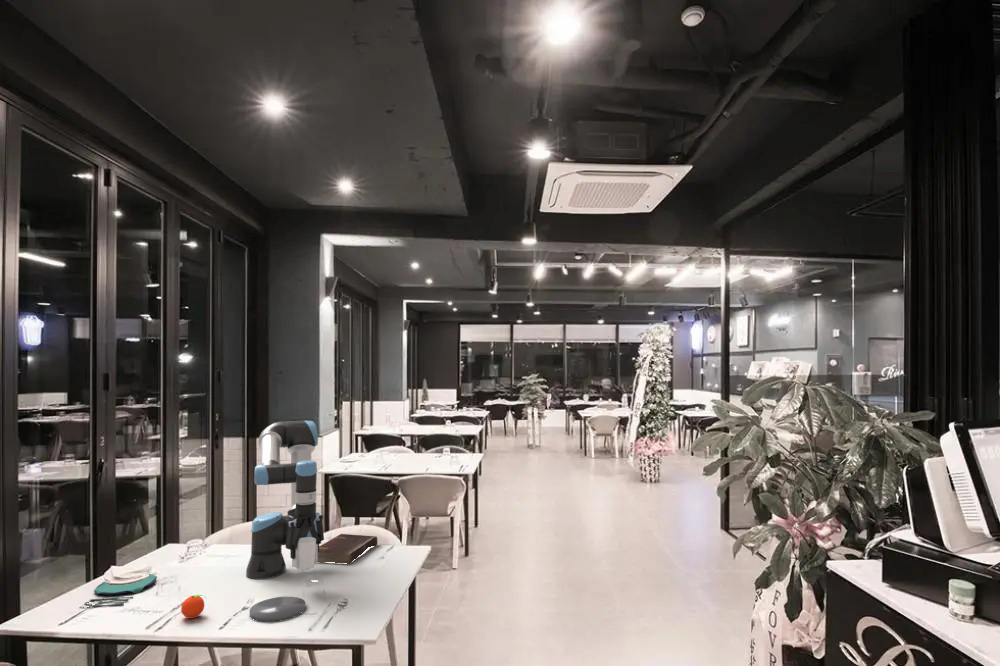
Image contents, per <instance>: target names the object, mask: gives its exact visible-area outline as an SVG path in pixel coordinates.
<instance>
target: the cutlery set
mask: <svg viewBox="0 0 1000 666" xmlns="http://www.w3.org/2000/svg"><path fill="white" fill-rule="evenodd" d="M148 574H149V577H148V578H146V579H145V580H142V581H140V582H137V583H132V584H125V585H109V584H107V583H106V581H104V582H102V583H100V584H99V585H97V586H96V587H95V588H94V590H93V592H94V593H95V594H96V595H97V596H100V595H107V596H108V595H109V596H111V595H121V594H122V595H123V594H127V593H134V594H135V593H136V594H139V593H140V592H141V591H142V590H143V589H144V588H147V587H149V586H151V585H153V584H154V583H155V582H156V581H157V578H158V576H157V575H156V574H152V573H148ZM103 599H104V600H103ZM130 599H134V595H133V596H128V597H127V596H126V597H125V596H121V597H120V596H112V597H102V598H101V597H100V598H99V597H98V598H91V599H90V600H95V601H101V602H99V603H100V604H97V603H98V602H95V603H94V602H93V601H90V600H89V601H85V602H84V605H85V606H89V607H87V608H86V609H91V608H90V607H94V606H109V607H118V606H121V607H122V606H124V605H125V602H128V601H129V600H130ZM89 602H93V603H94V604H95V605H93V606H91V605H92V604H93V603H89ZM113 602H114V603H113ZM116 602H117V603H116ZM87 603H88V604H87ZM105 603H109V604H105ZM81 607H83V608H81ZM78 608H81V609H85V608H84V606H80V607H78ZM94 608H95V607H94Z"/></svg>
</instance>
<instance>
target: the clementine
mask: <svg viewBox="0 0 1000 666" xmlns="http://www.w3.org/2000/svg"><path fill="white" fill-rule="evenodd" d="M201 596H202V597H204V598H205V599H207V597H206V596H205V595H202V594H196V595H195V594H194V595H190V596H187V598H186V599H184V601H183V602H182V604H181V609H180V610H181V611H180V612H181V613H182V615H183V616H184V618H188V619H194V618H197V617H199V615H201V614H202V612H203V611H204V609H205V601H204V599H203V598H202V597H201Z"/></svg>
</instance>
